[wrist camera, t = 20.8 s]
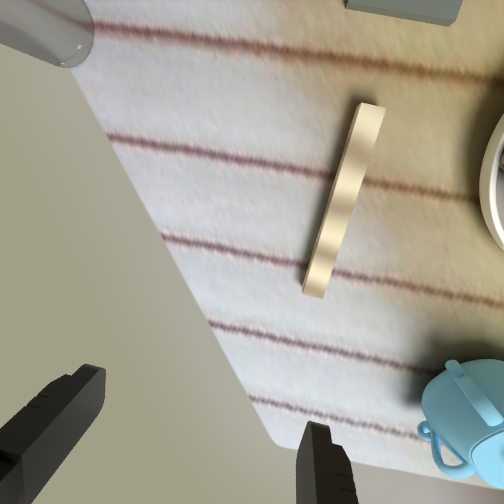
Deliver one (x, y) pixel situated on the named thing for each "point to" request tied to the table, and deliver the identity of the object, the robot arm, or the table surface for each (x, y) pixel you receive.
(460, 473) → the decorative pot
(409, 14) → the plant stand
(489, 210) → the bowl
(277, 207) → the table surface
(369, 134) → the birch rod
